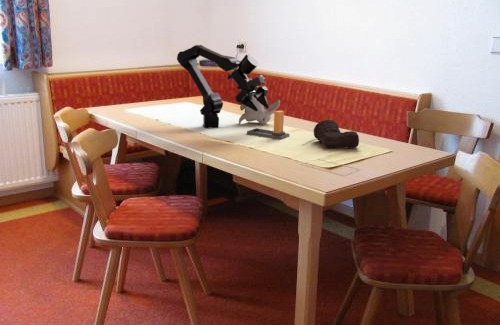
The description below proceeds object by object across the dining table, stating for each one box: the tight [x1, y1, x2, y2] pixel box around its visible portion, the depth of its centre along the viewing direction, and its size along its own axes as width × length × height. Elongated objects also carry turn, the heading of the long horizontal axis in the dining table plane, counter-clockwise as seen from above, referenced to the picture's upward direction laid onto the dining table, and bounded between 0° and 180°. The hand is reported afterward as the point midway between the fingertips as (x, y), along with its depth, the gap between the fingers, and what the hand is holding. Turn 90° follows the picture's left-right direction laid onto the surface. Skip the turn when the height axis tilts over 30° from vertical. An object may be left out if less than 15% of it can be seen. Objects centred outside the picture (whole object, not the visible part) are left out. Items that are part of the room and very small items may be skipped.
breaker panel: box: [246, 127, 290, 141], centre depth 211 cm, size 18×12×2 cm, turn 57°
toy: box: [238, 96, 281, 125], centre depth 232 cm, size 8×15×20 cm
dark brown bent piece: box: [313, 119, 360, 149], centre depth 199 cm, size 10×15×15 cm
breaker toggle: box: [271, 110, 286, 136], centre depth 206 cm, size 4×5×11 cm
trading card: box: [300, 161, 361, 177], centre depth 170 cm, size 11×1×18 cm
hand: (262, 109), depth 209 cm, fingers open, 9 cm apart
